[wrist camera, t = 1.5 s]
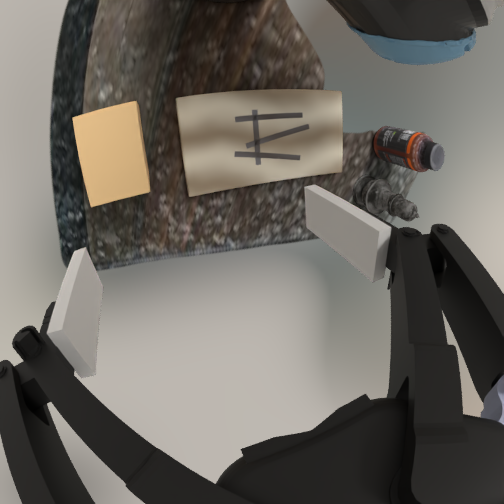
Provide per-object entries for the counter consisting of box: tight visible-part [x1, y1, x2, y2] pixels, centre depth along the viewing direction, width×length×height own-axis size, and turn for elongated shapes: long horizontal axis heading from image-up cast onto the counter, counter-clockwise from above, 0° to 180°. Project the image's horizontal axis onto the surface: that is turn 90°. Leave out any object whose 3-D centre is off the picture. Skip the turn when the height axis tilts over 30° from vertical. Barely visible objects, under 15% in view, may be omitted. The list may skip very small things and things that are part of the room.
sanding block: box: [73, 101, 150, 207], centre depth 24 cm, size 8×6×10 cm
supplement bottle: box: [374, 126, 445, 172], centre depth 36 cm, size 6×6×11 cm
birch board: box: [176, 89, 343, 197], centre depth 34 cm, size 12×22×1 cm, turn 94°
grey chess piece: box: [353, 175, 419, 221], centre depth 39 cm, size 6×6×12 cm
